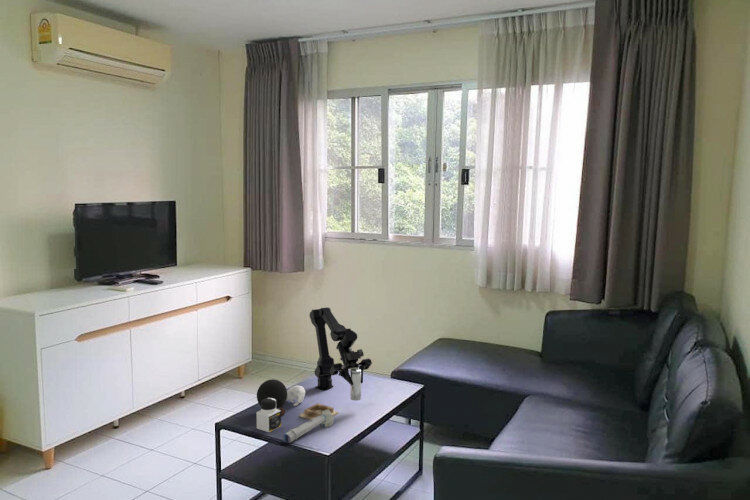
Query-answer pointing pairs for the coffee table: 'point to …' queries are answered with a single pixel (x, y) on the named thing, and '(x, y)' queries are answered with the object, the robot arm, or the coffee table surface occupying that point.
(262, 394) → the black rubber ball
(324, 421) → the octagon-capped white rod
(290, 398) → the white rounded lump
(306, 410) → the jig
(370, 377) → the coffee table surface
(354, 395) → the metal canister
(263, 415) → the medicine bottle
